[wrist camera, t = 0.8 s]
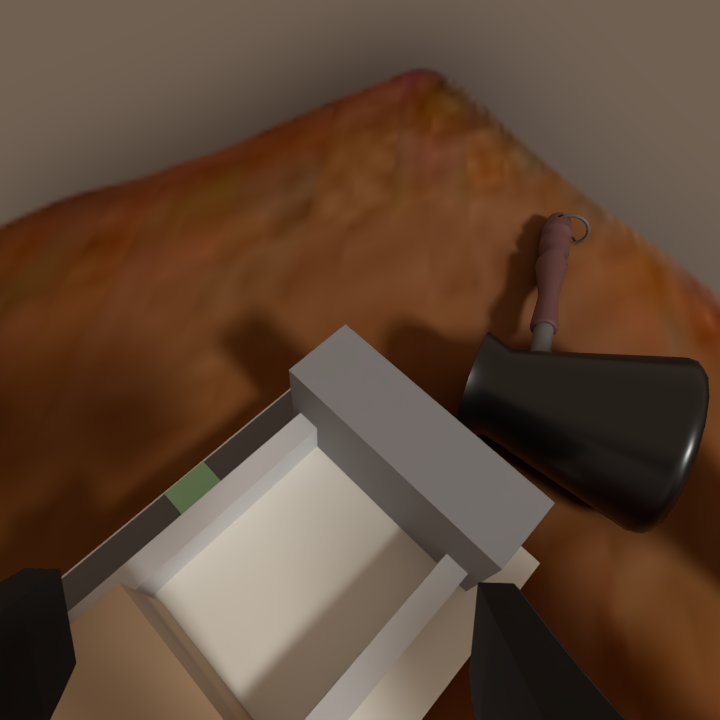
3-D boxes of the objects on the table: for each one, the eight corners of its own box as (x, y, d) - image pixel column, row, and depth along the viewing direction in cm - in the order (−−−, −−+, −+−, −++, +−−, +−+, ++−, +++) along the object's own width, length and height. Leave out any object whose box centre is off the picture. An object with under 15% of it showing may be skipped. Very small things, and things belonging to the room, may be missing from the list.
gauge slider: (141, 881, 16) (77, 952, 12) (-12, 640, 19) (-106, 629, 15) (267, 737, 18) (250, 755, 14) (111, 538, 21) (58, 503, 17)
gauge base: (179, 1030, 16) (110, 1200, 11) (-37, 671, 20) (-161, 667, 15) (532, 567, 23) (592, 535, 18) (319, 373, 27) (319, 301, 22)
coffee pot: (628, 566, 23) (437, 491, 25) (666, 300, 34) (528, 265, 36) (711, 479, 17) (455, 393, 20) (725, 192, 28) (557, 159, 30)
